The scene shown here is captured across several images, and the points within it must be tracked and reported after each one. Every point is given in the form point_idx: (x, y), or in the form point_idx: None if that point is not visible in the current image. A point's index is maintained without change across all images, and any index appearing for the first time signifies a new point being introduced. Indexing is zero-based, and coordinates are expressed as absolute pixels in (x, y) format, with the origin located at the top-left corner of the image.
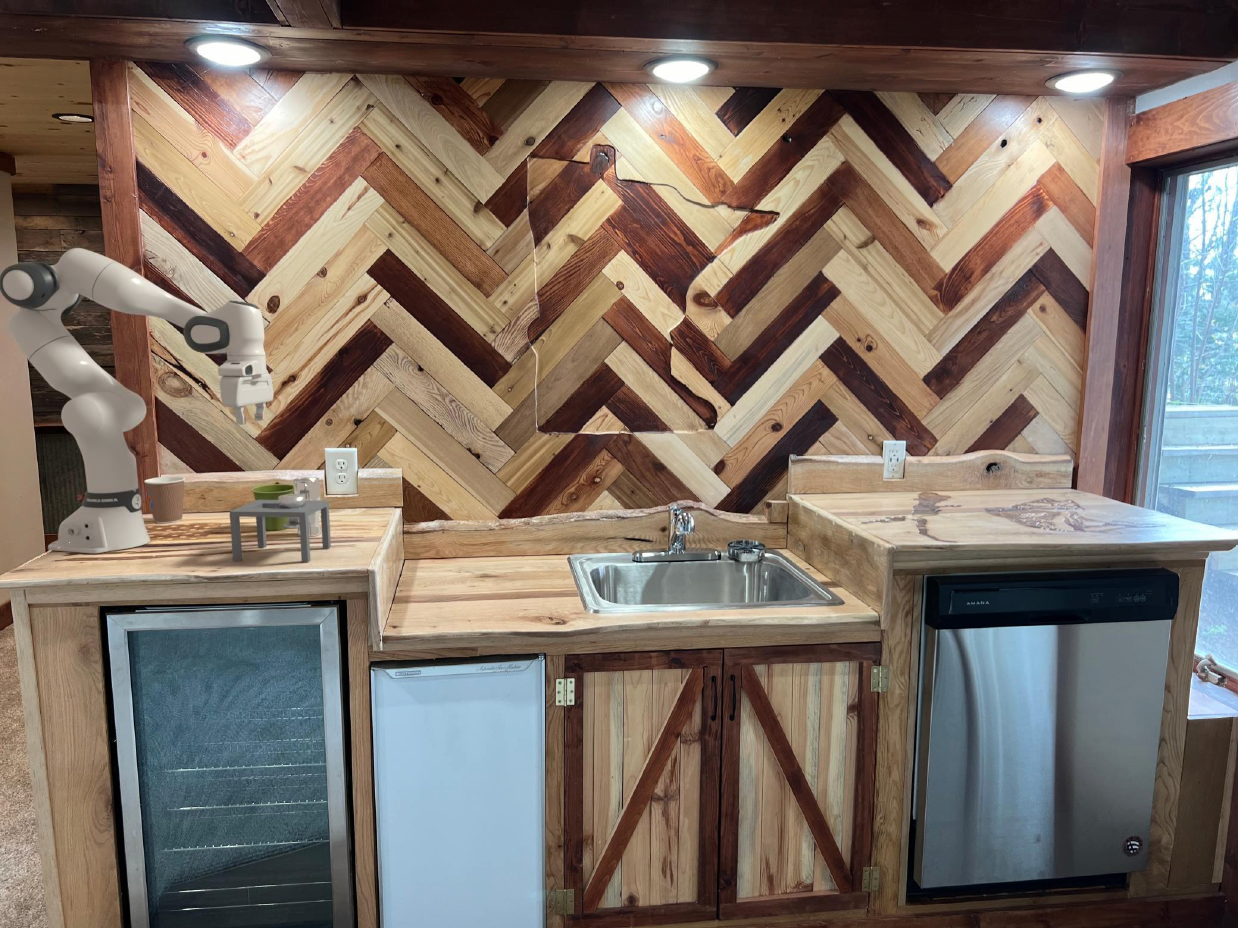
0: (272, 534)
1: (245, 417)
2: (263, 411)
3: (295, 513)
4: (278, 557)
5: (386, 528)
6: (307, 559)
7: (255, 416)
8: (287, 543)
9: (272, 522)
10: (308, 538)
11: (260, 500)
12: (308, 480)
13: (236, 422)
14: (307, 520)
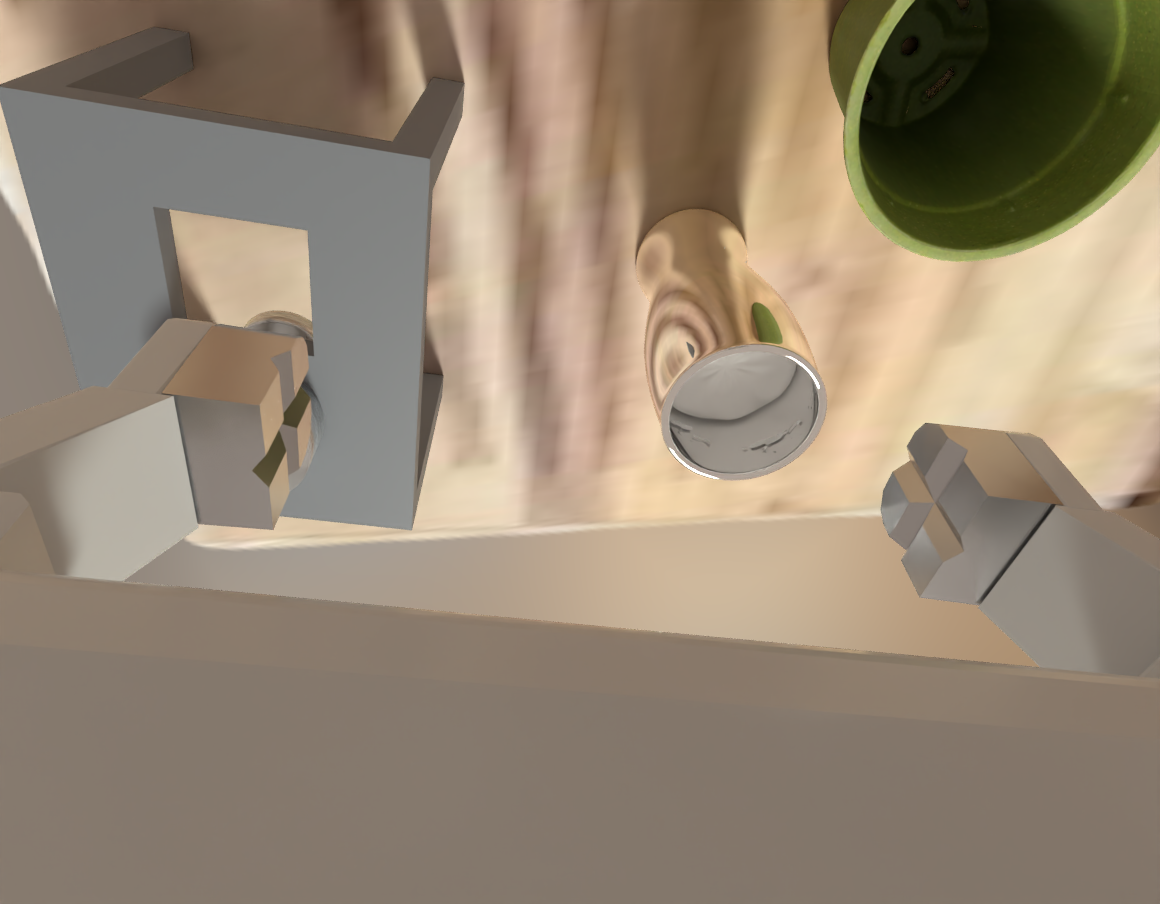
0: (738, 65)
1: (258, 522)
2: (1024, 644)
3: None
4: (264, 232)
5: (734, 517)
6: None
7: (950, 476)
8: (522, 203)
9: (835, 54)
10: None
11: (401, 187)
12: (817, 400)
13: (158, 330)
14: None
